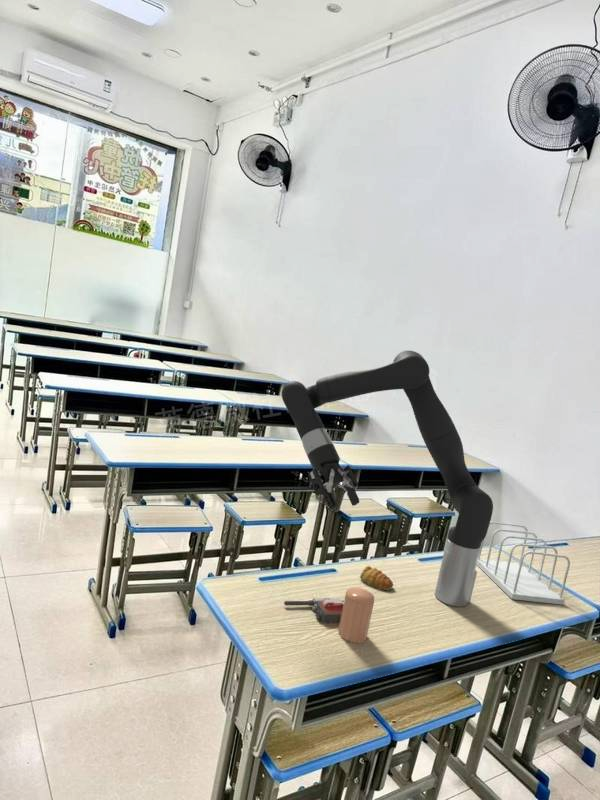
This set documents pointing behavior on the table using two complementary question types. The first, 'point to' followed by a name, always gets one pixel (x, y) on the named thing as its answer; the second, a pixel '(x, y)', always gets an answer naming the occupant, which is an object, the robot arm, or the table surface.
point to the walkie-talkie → (323, 608)
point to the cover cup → (356, 615)
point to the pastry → (376, 578)
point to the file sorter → (522, 571)
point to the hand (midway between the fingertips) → (345, 506)
